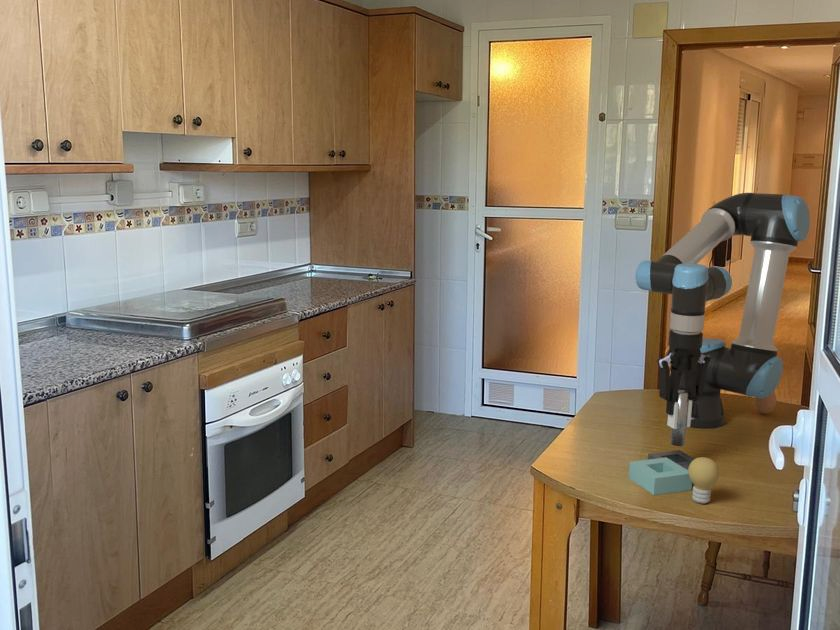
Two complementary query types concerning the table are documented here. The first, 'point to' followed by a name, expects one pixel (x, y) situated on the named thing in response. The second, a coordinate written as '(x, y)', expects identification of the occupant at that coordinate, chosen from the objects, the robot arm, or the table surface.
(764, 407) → the egg
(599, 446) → the table surface
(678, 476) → the socket
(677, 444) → the pin
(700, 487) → the light bulb
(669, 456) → the mount
